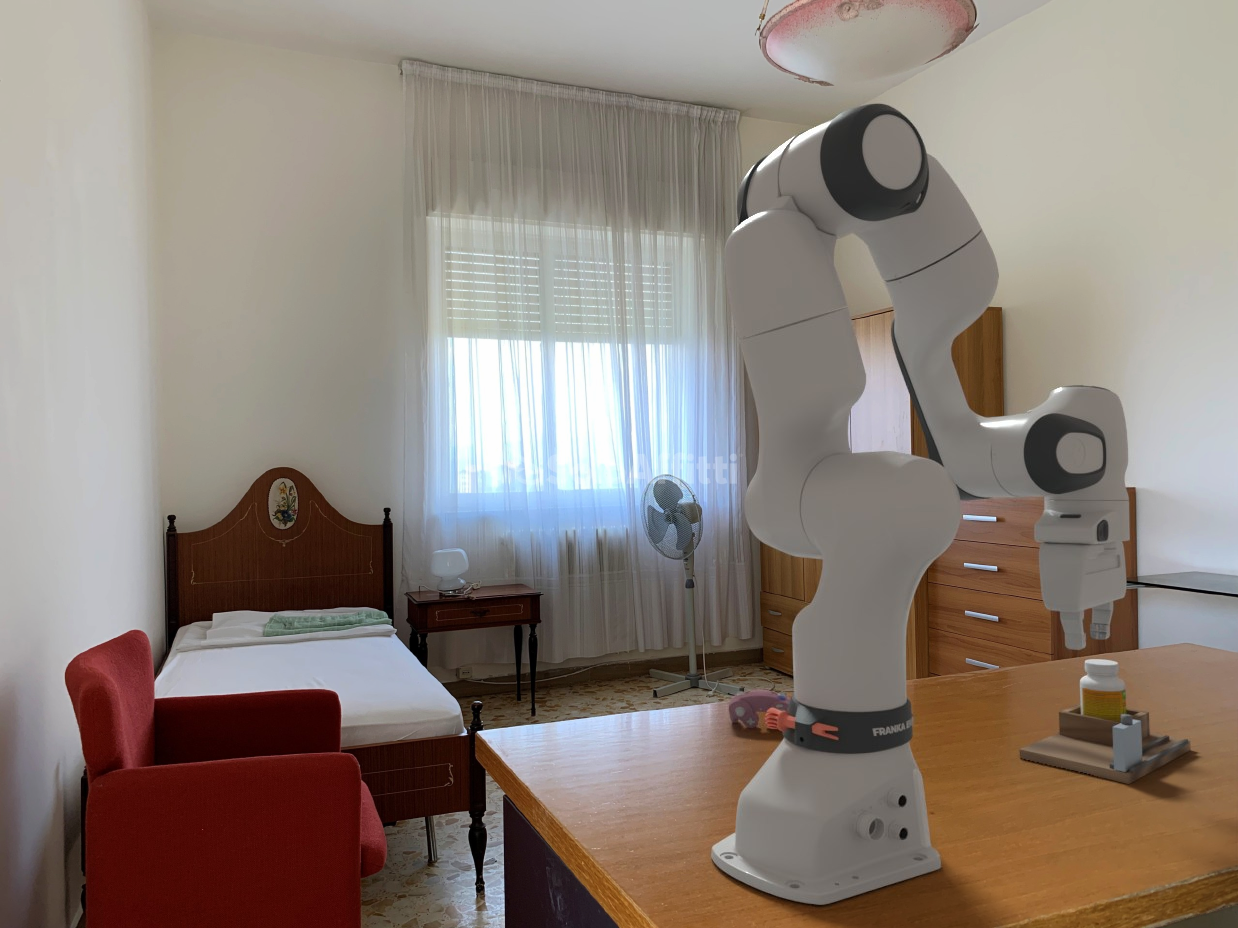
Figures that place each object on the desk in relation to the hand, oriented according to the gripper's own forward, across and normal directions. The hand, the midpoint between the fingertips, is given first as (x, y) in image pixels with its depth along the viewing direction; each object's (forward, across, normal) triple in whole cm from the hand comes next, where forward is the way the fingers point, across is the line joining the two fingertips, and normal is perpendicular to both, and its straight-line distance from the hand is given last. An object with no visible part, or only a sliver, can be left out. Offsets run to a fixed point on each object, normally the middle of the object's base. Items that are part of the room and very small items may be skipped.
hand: (1088, 643), depth 103 cm
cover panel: (+15, -6, +3) cm, 16 cm away
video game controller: (+17, +3, -44) cm, 47 cm away
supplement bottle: (+15, -18, -3) cm, 24 cm away
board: (+16, -13, -2) cm, 21 cm away
